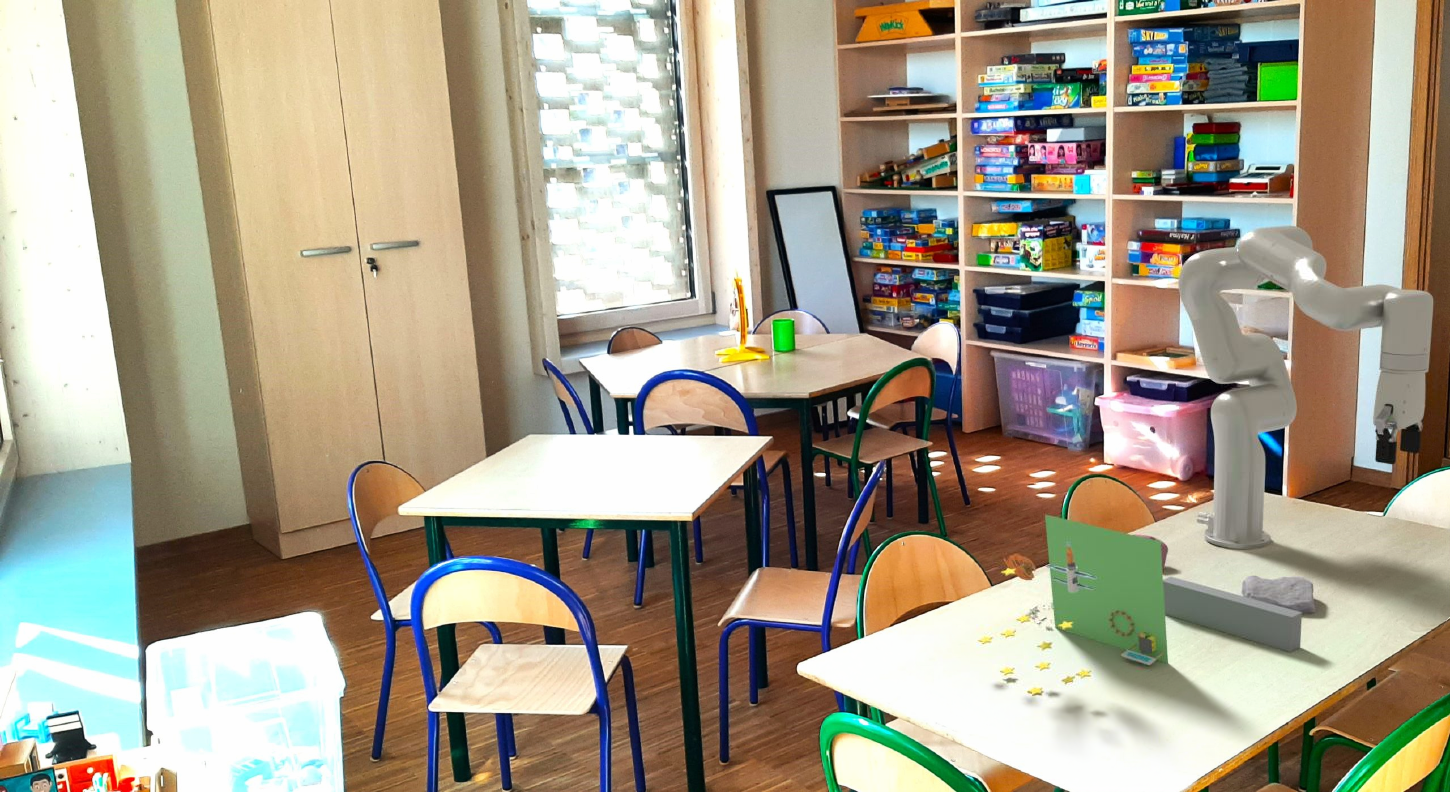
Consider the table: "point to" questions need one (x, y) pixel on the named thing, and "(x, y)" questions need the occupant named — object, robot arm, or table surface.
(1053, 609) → the miniature furniture
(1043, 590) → the table surface
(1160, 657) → the toy game set
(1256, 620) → the board
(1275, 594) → the stone block
